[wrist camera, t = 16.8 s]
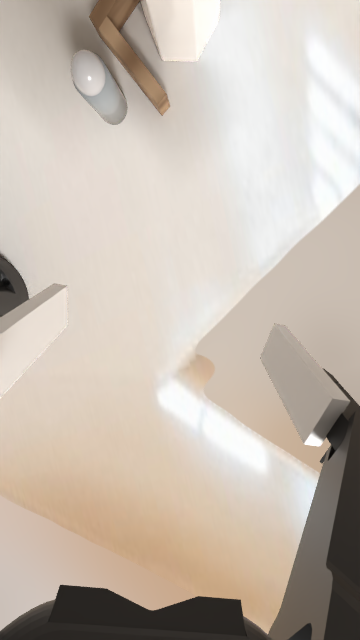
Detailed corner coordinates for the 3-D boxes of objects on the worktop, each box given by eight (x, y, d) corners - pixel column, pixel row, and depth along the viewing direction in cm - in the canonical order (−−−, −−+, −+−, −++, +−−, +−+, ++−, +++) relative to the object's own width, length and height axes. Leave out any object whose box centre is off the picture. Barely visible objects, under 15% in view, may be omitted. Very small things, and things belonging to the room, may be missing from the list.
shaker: (95, 117, 33) (58, 79, 25) (103, 82, 32) (66, 29, 24) (122, 129, 34) (94, 95, 25) (131, 95, 32) (104, 47, 24)
